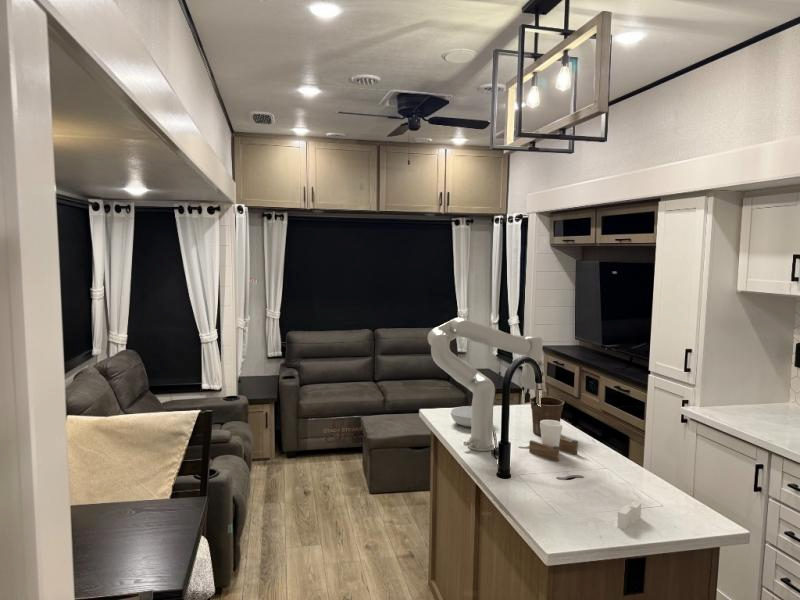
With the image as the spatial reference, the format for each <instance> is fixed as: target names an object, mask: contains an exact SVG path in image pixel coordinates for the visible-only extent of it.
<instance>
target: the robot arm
mask: <svg viewBox="0 0 800 600" xmlns="http://www.w3.org/2000/svg"><path fill="white" fill-rule="evenodd" d="M456 338H460V339H463V340H466V341H469V342H474V343H477V344H481V345H484V346H488V347H491V348H495V349H499V350H503V351H505V352H509V353H511V354H515V355H520V356H522V355H524V358H525V357H530V358H532V359H534V360H535V361H536V362H537V364H538V365H539V367H540V370H541V373H542V381H543V388H542V389H541V391H542V395H544V393H546V392H547V388H546V378H545V377H546V375H545V369H544V367H543V366H545V365H544V362H543V342H544V341H543V338H542V337H541V336H538V335H528V336H525V335H517V334H510V333H508V332H504V331H502V330H500V329H498V328H496V327H493V326H491V325H486V324H482V323H479V322H475V321H472V320H469V319H466V318H463V317H454V318H452V319H450V320H449V321H447V322H444V323H443V324H441V325H439V326H436V327H434V328H433V329H431V330H430V331H429V332H428V334H427V343H428V344H429V345H430V353H431V358H432V360H433V362H434V363H435V364H436V365H437V367H439V368H440V369H441V370H443V371H444V372H445V373H447V374H448V375H449V376H450V377H451V378H453V379H454V380H455V381H456V382H457V383H459V384H461V385H462V386H464V387H465V388H466V389H467V390H469V391H470V392H471V393H472V401H471V406H472V418H471V427H470V428H471V429H470V437H469V439H468V440H465V441H463V446H464V447H467V448H469V449H470V450H473V451H478V452H491V451H494V450H495V449H494V444H493V443H494V442H493V438H494V437H493V433H494V402H495V395H496V387H495V384H494V383H493V381H492V380H491V379H490V378H489V377H487V376H486V375H485V374H483V373H482V372H481V371H479V370H478V369H476V368H475V367H474V366H472V365H471V364H469V363H468V362H467V361H466V360H464V359H462V358H460V357H458V355H456V354H455V353H454V352H452V351H451V348H450V345H451V344H450V342H451V341H454V339H456ZM521 373H522V374H521V381H520V383H518V386H519V388H520V389H521V390H522V392H523V395H524V404H528V403H531V402H530V399H531V393H530V391H531V390H534V393H535V394H534V395H535V396H534V405H535V406H537V403H536V382H535V375H534V371H533V368H532V367H531V365H530V364H528V363H525V362H524V365H523V368H522V371H521Z"/></svg>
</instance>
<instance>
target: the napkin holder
mask: <svg viewBox="0 0 800 600" xmlns="http://www.w3.org/2000/svg"><path fill="white" fill-rule="evenodd" d="M641 518H642V502H637V501H635V500H634V501H632V503H631V504H628V505H627V504H625V505H624V506H623V507H621V509H619V511H617V528H620V529H623V530H626V529H627V528H629V526H630V525H631V524H636V523H638V521H640V519H641Z"/></svg>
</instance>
